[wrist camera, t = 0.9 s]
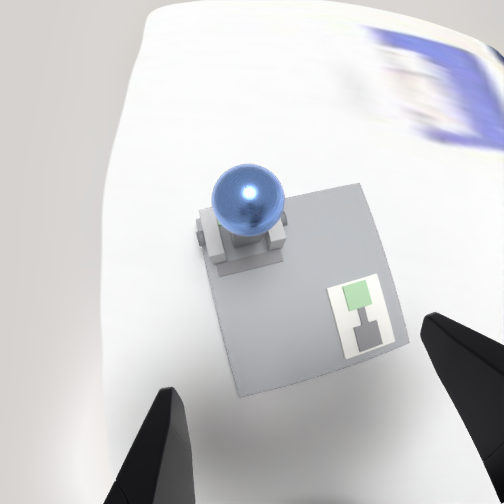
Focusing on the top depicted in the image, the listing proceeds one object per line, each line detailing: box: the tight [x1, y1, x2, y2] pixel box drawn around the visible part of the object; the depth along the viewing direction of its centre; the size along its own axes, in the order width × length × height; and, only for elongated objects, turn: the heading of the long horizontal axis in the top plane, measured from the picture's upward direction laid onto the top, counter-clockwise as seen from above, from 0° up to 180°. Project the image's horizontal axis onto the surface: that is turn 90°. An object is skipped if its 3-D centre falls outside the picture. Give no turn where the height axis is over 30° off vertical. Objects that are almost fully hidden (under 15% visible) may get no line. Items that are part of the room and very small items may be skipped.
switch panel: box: [196, 183, 409, 397], centre depth 21 cm, size 13×13×4 cm
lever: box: [212, 164, 285, 248], centre depth 17 cm, size 3×3×10 cm
